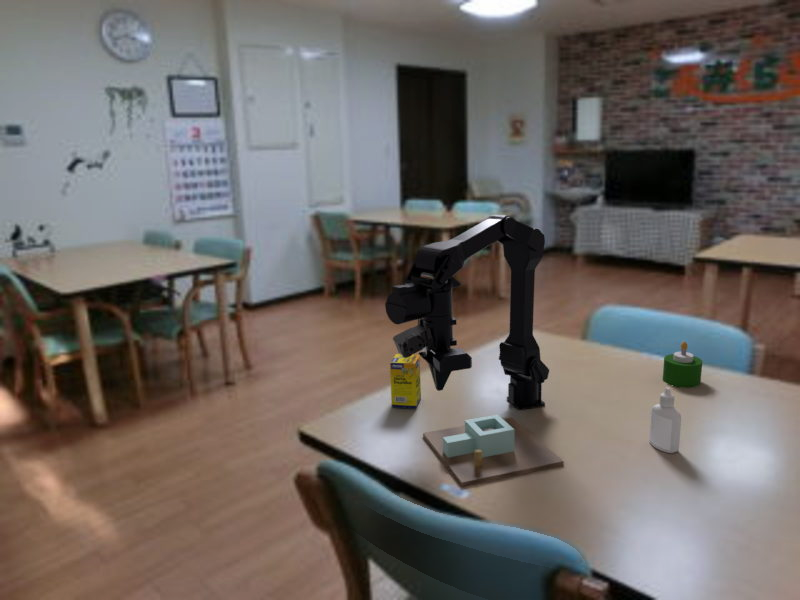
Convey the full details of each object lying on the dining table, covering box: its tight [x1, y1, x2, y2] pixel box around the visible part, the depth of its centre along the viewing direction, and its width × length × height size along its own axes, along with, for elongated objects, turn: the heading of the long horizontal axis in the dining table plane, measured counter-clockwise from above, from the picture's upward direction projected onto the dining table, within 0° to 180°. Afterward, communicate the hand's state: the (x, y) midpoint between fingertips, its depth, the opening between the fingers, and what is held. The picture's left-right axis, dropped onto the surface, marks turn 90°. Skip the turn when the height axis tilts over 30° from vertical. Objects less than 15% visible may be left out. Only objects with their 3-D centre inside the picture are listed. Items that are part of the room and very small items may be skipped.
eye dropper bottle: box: [648, 387, 682, 454], centre depth 115 cm, size 4×6×12 cm
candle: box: [662, 341, 703, 389], centre depth 146 cm, size 8×8×10 cm
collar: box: [443, 414, 514, 458], centre depth 117 cm, size 12×7×4 cm, turn 107°
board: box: [422, 416, 565, 487], centre depth 118 cm, size 20×20×4 cm
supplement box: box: [389, 353, 422, 410], centre depth 140 cm, size 6×6×11 cm
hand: (439, 389), depth 120 cm, fingers closed
